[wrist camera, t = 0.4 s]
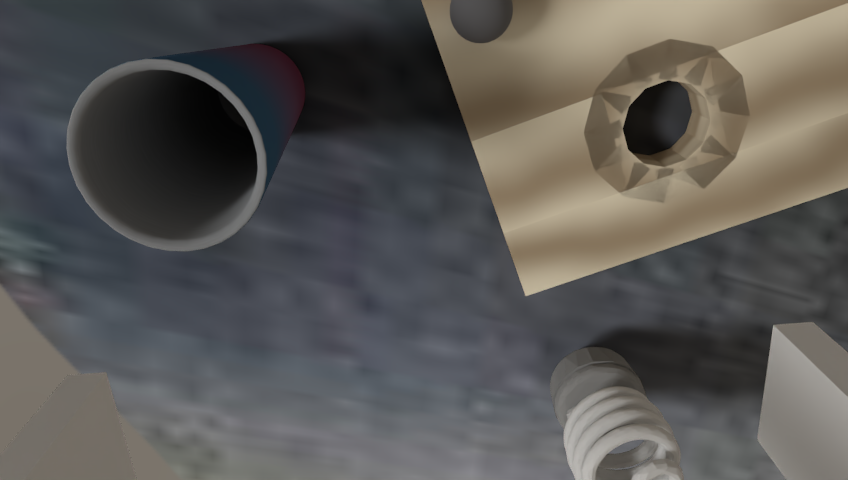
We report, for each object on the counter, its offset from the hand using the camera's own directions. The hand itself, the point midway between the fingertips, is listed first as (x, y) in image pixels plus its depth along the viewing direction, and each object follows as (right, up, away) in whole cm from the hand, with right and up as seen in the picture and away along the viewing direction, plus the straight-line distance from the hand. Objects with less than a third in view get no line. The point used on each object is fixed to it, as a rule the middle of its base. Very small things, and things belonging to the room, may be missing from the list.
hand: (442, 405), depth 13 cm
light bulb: (+10, -4, +30) cm, 32 cm away
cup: (-9, +12, +24) cm, 28 cm away
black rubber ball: (+2, +14, +18) cm, 23 cm away
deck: (+11, +15, +23) cm, 29 cm away
